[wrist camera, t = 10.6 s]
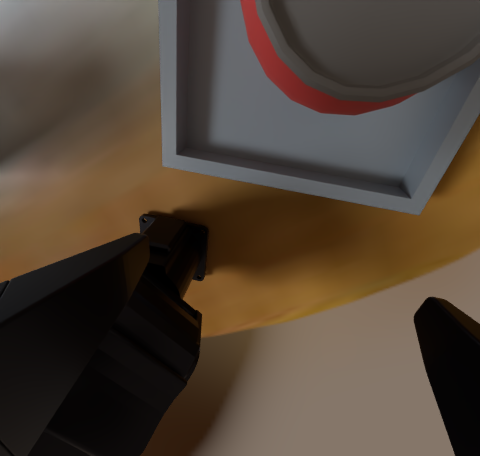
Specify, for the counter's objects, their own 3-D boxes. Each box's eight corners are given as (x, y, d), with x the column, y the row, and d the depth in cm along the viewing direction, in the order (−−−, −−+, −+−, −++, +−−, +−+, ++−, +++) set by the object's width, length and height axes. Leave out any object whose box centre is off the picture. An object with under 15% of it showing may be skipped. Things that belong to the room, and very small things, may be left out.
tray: (403, 199, 19) (419, 215, 17) (176, 156, 20) (162, 166, 18) (627, -222, 10) (734, -317, 7) (178, -258, 11) (149, -350, 8)
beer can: (396, -62, 12) (970, -805, 2) (374, 91, 15) (549, 112, 5) (261, -33, 13) (183, -396, 3) (267, 103, 17) (239, 139, 6)
